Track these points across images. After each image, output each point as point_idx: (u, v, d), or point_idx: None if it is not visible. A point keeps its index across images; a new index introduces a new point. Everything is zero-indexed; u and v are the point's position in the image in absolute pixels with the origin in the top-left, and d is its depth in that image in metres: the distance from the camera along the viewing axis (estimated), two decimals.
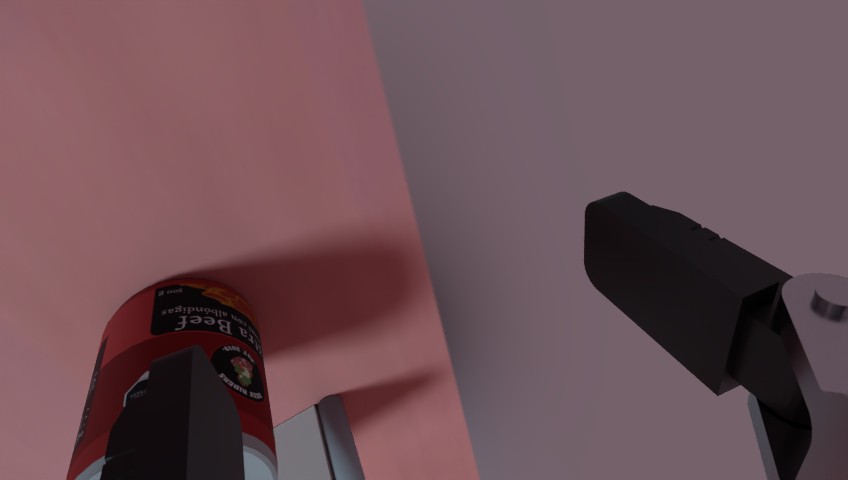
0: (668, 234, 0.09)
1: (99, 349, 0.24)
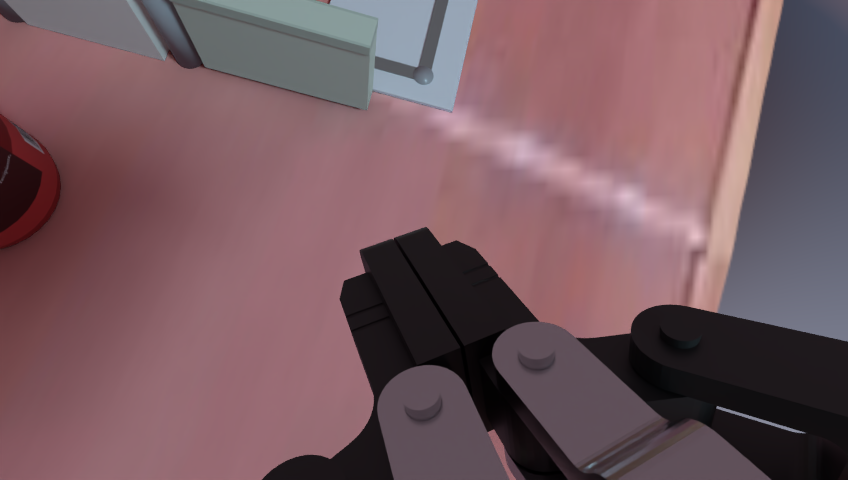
0: (438, 275, 0.09)
1: None
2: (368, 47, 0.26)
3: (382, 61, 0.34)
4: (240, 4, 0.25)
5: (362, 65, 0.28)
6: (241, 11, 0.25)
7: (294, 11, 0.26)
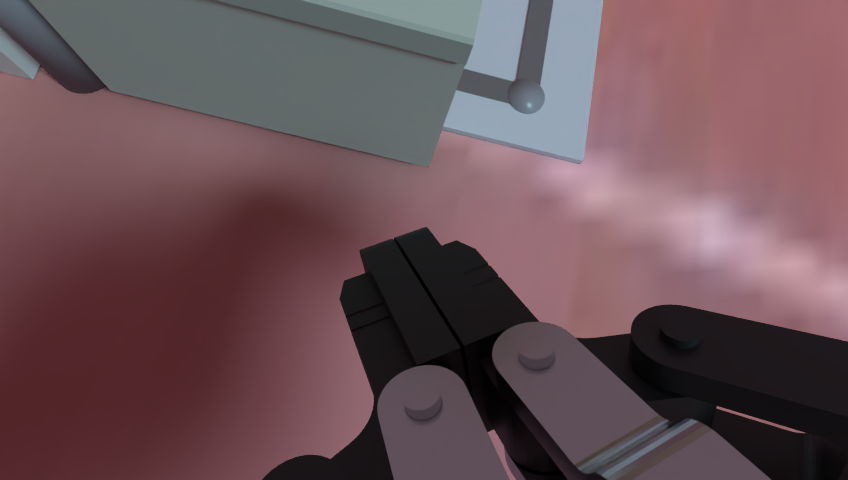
0: (438, 275, 0.09)
1: None
2: (469, 43, 0.10)
3: None
4: None
5: (441, 86, 0.12)
6: None
7: None
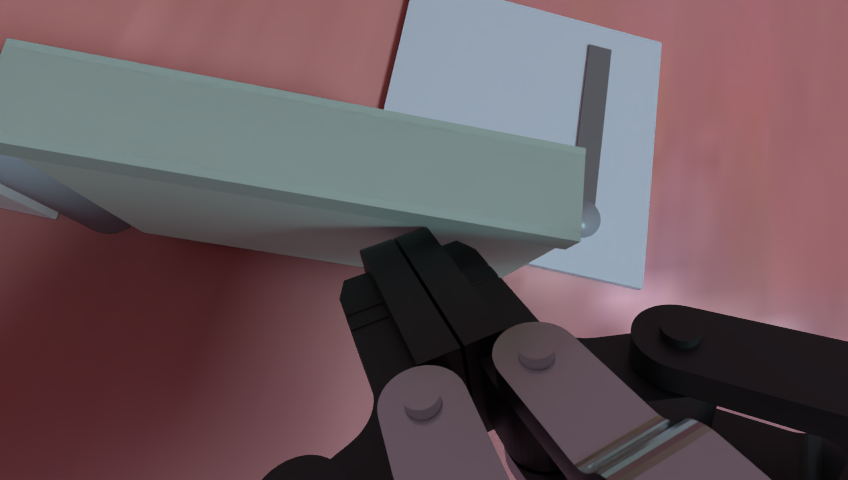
0: (438, 275, 0.09)
1: None
2: (576, 239, 0.09)
3: None
4: (206, 152, 0.09)
5: (526, 253, 0.11)
6: (209, 175, 0.08)
7: (362, 156, 0.09)
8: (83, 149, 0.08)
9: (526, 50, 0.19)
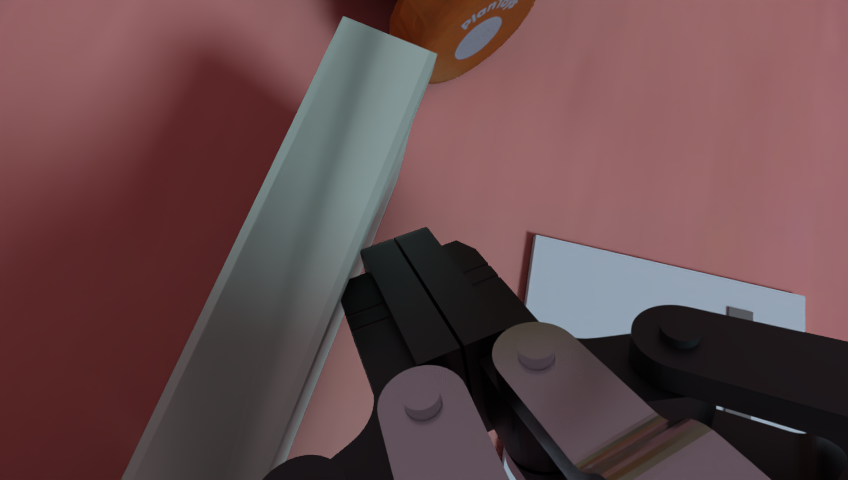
0: (438, 275, 0.09)
1: None
2: (433, 57, 0.09)
3: None
4: (262, 405, 0.08)
5: None
6: (291, 404, 0.08)
7: (304, 237, 0.08)
8: None
9: None
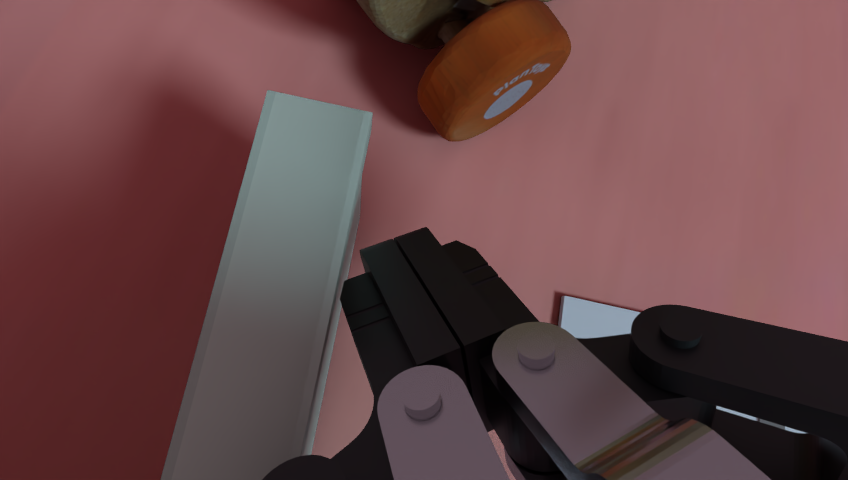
0: (438, 275, 0.09)
1: None
2: (369, 116, 0.09)
3: None
4: None
5: None
6: None
7: (266, 336, 0.08)
8: None
9: None
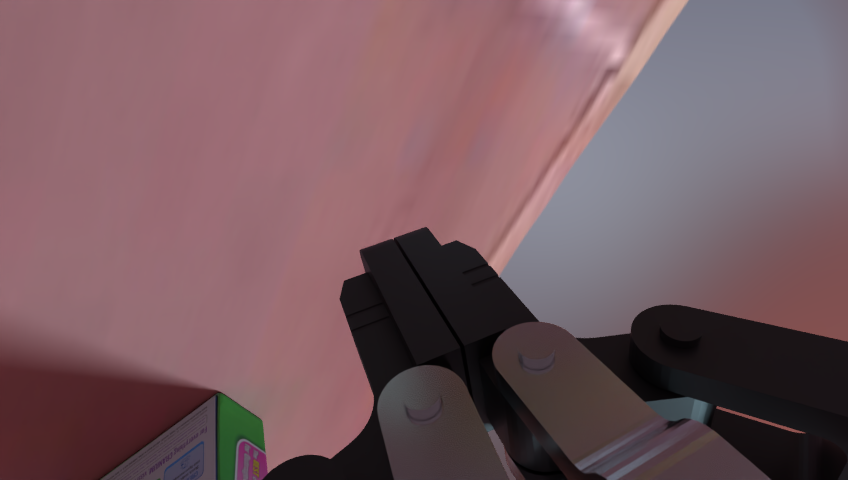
0: (438, 275, 0.09)
1: None
2: None
3: None
4: None
5: None
6: None
7: None
8: None
9: None
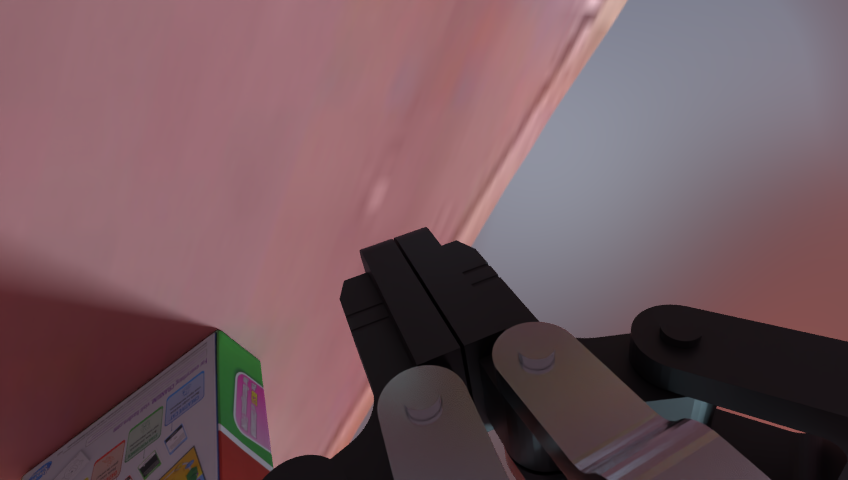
0: (438, 275, 0.09)
1: None
2: None
3: None
4: None
5: None
6: None
7: None
8: None
9: None
